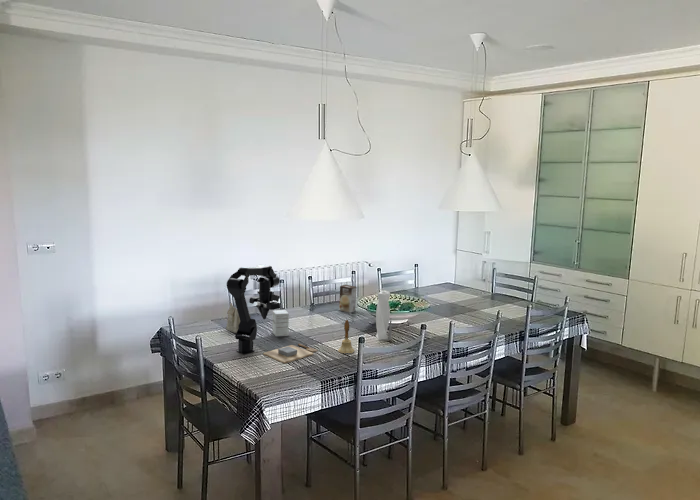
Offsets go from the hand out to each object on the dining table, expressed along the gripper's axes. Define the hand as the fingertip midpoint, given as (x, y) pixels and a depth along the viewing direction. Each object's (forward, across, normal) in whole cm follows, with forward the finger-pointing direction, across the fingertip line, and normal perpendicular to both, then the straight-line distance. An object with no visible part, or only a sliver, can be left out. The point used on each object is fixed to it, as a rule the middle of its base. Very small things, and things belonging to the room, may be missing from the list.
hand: (264, 319), depth 275 cm
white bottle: (+12, -37, -51) cm, 64 cm away
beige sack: (+12, +26, -4) cm, 29 cm away
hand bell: (+12, -38, -22) cm, 46 cm away
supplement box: (+12, +4, -14) cm, 19 cm away
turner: (+12, -22, -10) cm, 27 cm away
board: (+12, -23, +3) cm, 26 cm away
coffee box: (+12, +14, -77) cm, 79 cm away
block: (+10, -20, +4) cm, 23 cm away
